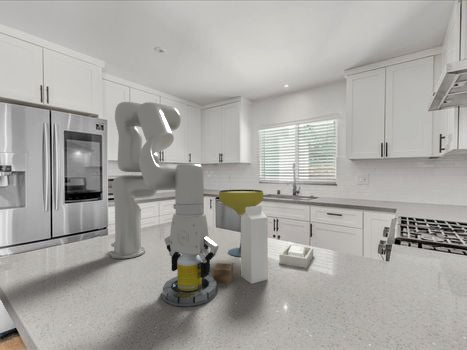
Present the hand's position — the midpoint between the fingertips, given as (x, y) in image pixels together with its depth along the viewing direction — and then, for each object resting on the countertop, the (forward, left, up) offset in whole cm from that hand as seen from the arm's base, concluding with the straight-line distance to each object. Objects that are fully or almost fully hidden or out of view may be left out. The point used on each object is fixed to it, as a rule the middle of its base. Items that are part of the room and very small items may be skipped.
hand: (190, 272), depth 65 cm
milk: (+12, +16, -6) cm, 21 cm away
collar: (0, 0, -5) cm, 5 cm away
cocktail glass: (-2, +36, -6) cm, 36 cm away
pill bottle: (0, 0, -5) cm, 5 cm away
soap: (+20, +39, -5) cm, 44 cm away
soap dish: (+20, +38, -5) cm, 43 cm away
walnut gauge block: (+4, +11, -6) cm, 13 cm away
